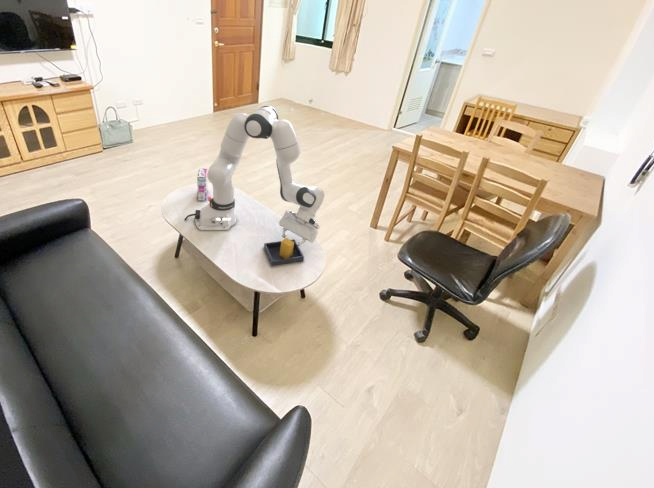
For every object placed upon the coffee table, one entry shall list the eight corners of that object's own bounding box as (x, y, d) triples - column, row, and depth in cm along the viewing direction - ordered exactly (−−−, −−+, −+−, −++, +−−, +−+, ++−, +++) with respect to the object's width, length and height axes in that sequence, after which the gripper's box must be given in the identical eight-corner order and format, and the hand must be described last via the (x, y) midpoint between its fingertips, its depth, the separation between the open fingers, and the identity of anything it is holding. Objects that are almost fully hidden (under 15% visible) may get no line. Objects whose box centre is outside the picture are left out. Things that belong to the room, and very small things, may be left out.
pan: (271, 266, 159) (272, 261, 157) (263, 248, 170) (264, 243, 168) (303, 261, 164) (304, 256, 162) (293, 244, 174) (294, 239, 173)
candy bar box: (206, 201, 200) (205, 177, 190) (197, 201, 199) (196, 177, 190) (207, 191, 209) (207, 168, 200) (199, 191, 208) (198, 168, 199)
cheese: (279, 255, 166) (281, 241, 161) (284, 251, 169) (286, 237, 164) (287, 259, 164) (289, 246, 159) (292, 255, 166) (294, 242, 161)
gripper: (285, 207, 167) (271, 231, 166) (319, 224, 157) (305, 250, 156) (289, 210, 173) (276, 233, 171) (322, 227, 163) (309, 252, 162)
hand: (290, 241), depth 164 cm, fingers open, 8 cm apart
